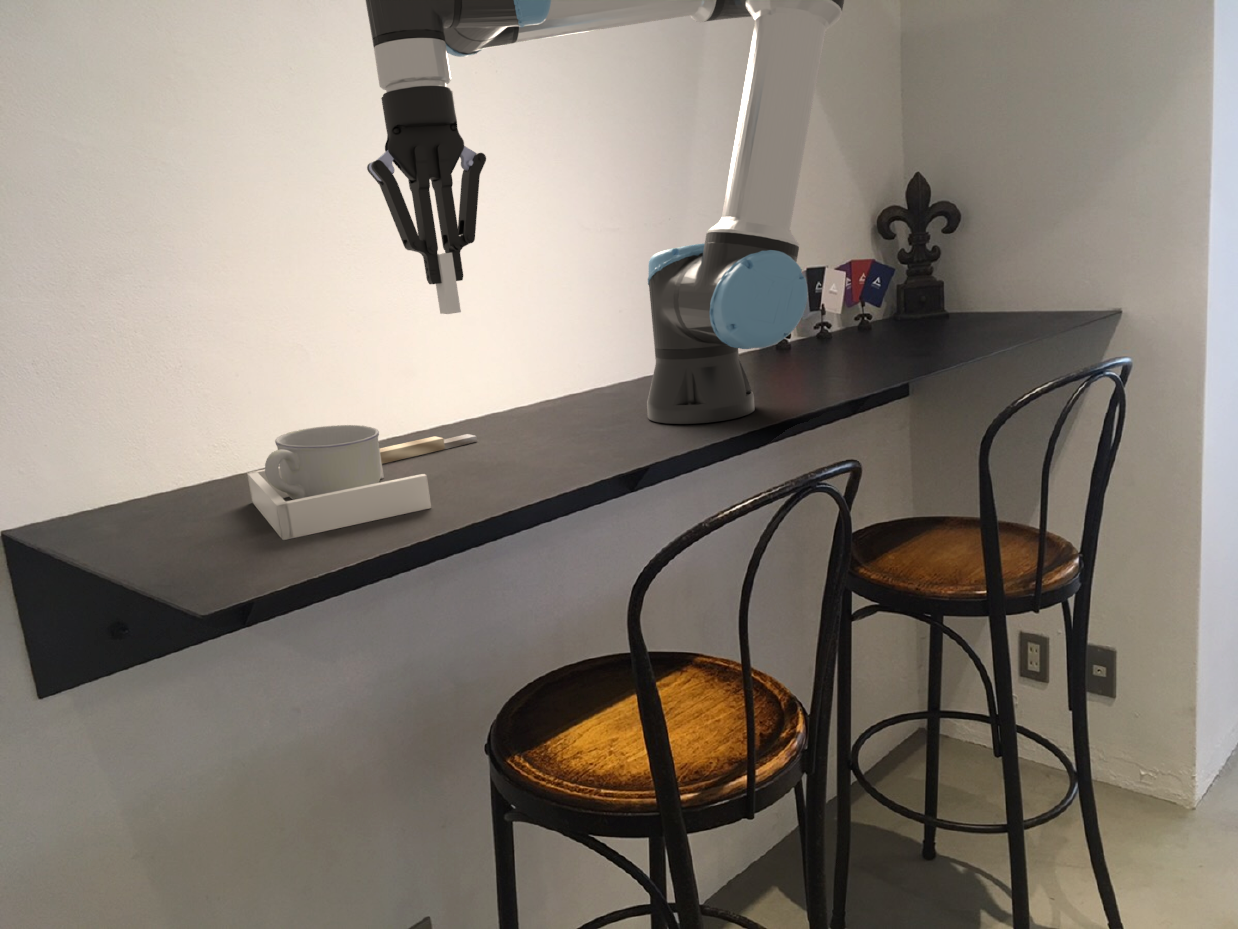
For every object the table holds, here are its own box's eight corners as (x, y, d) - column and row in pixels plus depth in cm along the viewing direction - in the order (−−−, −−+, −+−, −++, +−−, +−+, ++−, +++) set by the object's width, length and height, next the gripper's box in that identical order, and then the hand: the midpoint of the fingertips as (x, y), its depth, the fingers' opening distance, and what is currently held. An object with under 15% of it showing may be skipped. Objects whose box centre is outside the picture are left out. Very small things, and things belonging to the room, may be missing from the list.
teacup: (349, 486, 114) (338, 419, 112) (408, 495, 107) (398, 424, 105) (240, 519, 103) (227, 446, 102) (299, 531, 97) (285, 453, 95)
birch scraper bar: (467, 439, 135) (466, 429, 134) (477, 441, 133) (475, 430, 132) (308, 476, 121) (306, 464, 121) (315, 479, 119) (313, 467, 119)
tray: (381, 476, 117) (377, 448, 116) (431, 507, 101) (426, 475, 100) (252, 502, 110) (246, 472, 110) (283, 540, 94) (276, 505, 93)
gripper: (462, 92, 109) (492, 304, 114) (346, 97, 103) (384, 320, 109) (486, 80, 102) (517, 305, 108) (364, 85, 96) (403, 322, 102)
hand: (450, 312), depth 108 cm, fingers closed
